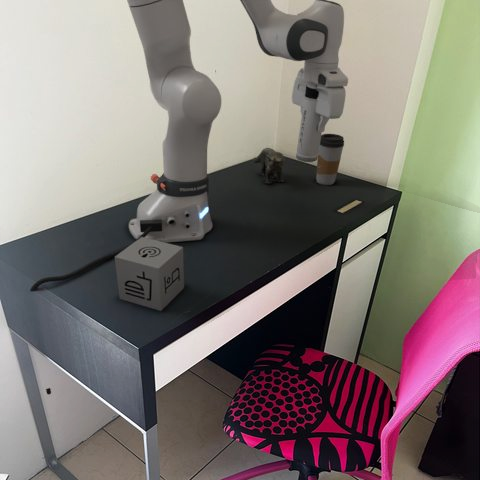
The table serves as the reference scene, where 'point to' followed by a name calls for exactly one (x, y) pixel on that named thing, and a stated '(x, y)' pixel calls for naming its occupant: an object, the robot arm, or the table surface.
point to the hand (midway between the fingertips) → (312, 128)
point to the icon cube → (150, 273)
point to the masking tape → (349, 206)
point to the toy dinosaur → (270, 164)
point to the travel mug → (309, 128)
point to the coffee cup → (329, 158)
